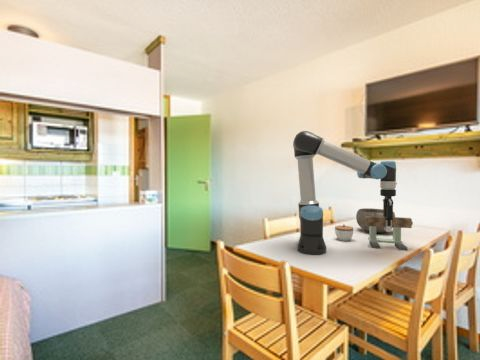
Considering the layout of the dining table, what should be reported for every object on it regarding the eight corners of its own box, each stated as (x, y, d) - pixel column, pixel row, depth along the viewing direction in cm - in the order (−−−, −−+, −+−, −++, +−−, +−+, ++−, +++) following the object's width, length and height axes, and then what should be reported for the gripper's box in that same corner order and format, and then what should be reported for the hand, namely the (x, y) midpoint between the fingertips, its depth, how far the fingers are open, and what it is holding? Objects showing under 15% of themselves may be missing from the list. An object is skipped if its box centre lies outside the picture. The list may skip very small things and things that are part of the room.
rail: (365, 226, 150) (365, 217, 150) (364, 224, 153) (364, 216, 153) (412, 228, 143) (412, 218, 143) (410, 226, 146) (411, 217, 146)
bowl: (394, 237, 169) (395, 214, 169) (353, 233, 182) (353, 211, 181) (395, 230, 190) (396, 209, 189) (358, 226, 202) (358, 207, 202)
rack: (369, 241, 160) (369, 221, 160) (368, 238, 166) (368, 219, 166) (401, 243, 155) (402, 223, 155) (399, 241, 161) (399, 221, 160)
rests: (371, 247, 147) (371, 245, 147) (369, 243, 156) (369, 241, 155) (407, 250, 142) (407, 247, 142) (402, 246, 150) (402, 243, 150)
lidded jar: (347, 243, 157) (347, 227, 157) (331, 239, 166) (331, 224, 165) (356, 239, 164) (356, 224, 164) (340, 236, 172) (340, 222, 172)
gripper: (399, 189, 138) (399, 234, 139) (392, 187, 154) (391, 228, 155) (383, 189, 141) (383, 233, 142) (377, 187, 157) (377, 227, 157)
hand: (387, 230), depth 148 cm, fingers closed on rail, 3 cm apart
